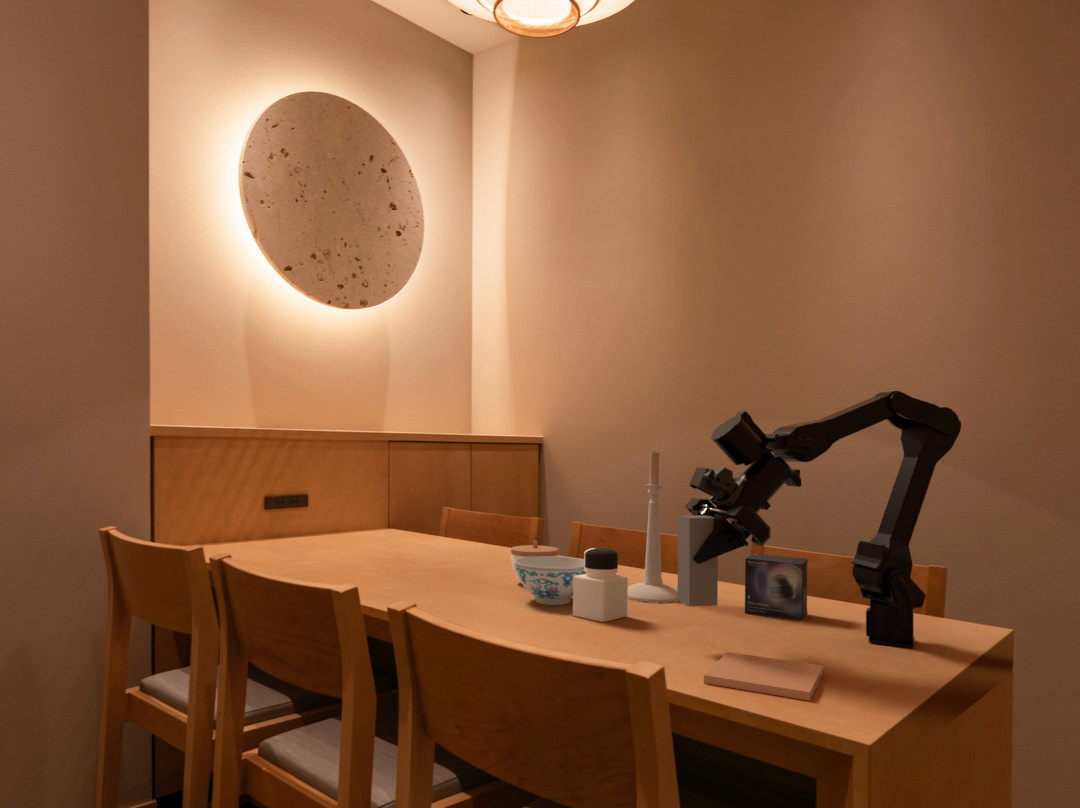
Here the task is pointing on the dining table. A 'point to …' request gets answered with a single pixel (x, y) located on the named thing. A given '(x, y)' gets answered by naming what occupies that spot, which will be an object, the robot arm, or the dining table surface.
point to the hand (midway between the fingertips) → (689, 559)
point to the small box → (776, 586)
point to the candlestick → (653, 549)
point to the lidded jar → (530, 553)
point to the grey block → (692, 577)
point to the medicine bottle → (600, 587)
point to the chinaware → (549, 577)
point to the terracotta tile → (765, 675)
